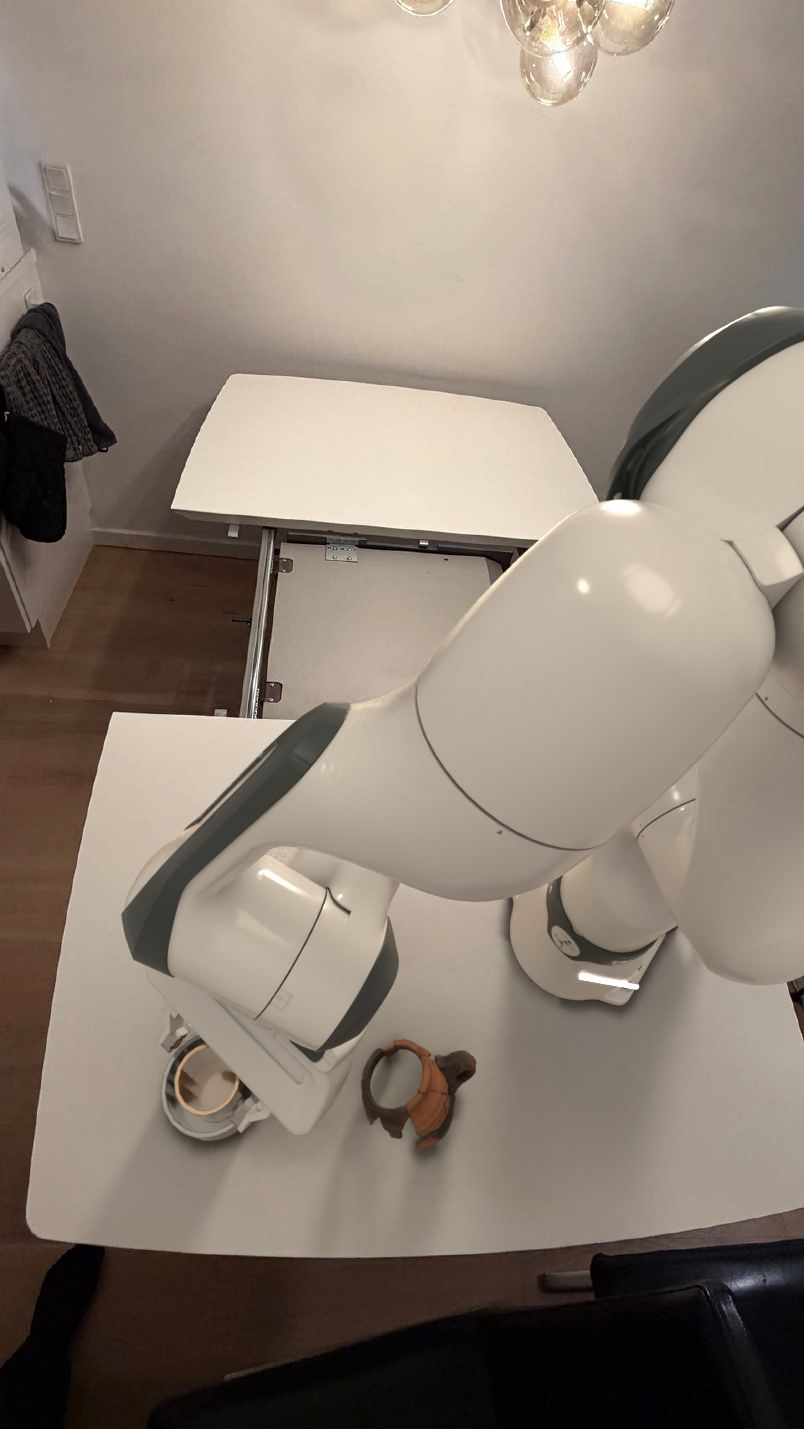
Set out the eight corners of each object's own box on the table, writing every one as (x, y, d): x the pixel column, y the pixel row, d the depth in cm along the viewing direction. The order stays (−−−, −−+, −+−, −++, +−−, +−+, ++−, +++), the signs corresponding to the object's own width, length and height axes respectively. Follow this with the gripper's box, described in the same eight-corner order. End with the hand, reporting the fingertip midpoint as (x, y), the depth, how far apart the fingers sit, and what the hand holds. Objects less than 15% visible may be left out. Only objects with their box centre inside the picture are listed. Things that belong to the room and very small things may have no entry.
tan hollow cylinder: (227, 1045, 70) (219, 1029, 62) (256, 1093, 68) (252, 1083, 60) (177, 1083, 67) (162, 1072, 60) (206, 1135, 65) (195, 1130, 58)
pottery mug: (402, 1178, 66) (373, 1148, 61) (367, 1092, 74) (339, 1059, 69) (503, 1107, 68) (483, 1072, 63) (458, 1030, 76) (438, 994, 71)
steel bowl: (232, 1023, 72) (226, 1011, 66) (277, 1097, 68) (276, 1090, 63) (155, 1081, 68) (143, 1073, 62) (200, 1162, 64) (191, 1161, 59)
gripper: (172, 898, 56) (101, 1015, 60) (351, 1076, 51) (262, 1196, 54) (218, 880, 62) (152, 987, 65) (383, 1037, 56) (301, 1147, 59)
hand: (202, 1082), depth 59 cm, fingers open, 8 cm apart
